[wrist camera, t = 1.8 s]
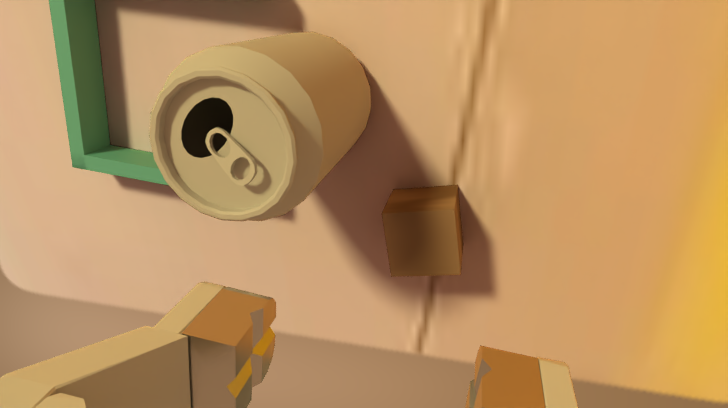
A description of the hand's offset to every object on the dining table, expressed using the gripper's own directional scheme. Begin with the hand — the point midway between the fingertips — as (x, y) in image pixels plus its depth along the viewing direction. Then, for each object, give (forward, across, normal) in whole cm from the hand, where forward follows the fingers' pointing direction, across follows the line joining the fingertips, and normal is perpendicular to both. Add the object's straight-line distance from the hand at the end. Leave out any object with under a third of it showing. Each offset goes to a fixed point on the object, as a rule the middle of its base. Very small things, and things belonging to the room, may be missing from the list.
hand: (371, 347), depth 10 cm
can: (+21, +8, 0) cm, 23 cm away
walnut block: (+21, 0, +6) cm, 22 cm away
